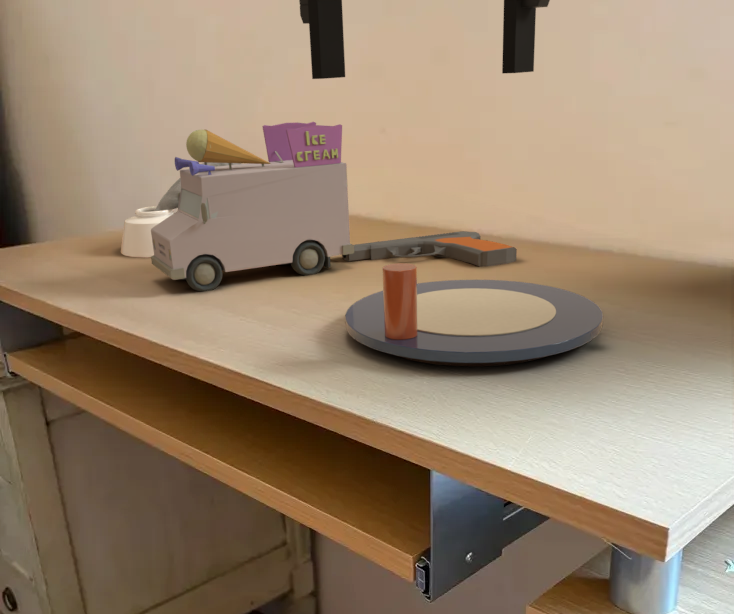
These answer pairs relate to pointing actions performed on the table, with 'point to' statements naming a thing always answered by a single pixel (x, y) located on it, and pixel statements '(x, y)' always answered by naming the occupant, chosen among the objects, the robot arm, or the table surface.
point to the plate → (470, 319)
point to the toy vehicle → (257, 206)
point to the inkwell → (151, 221)
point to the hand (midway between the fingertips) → (417, 76)
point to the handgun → (438, 249)
